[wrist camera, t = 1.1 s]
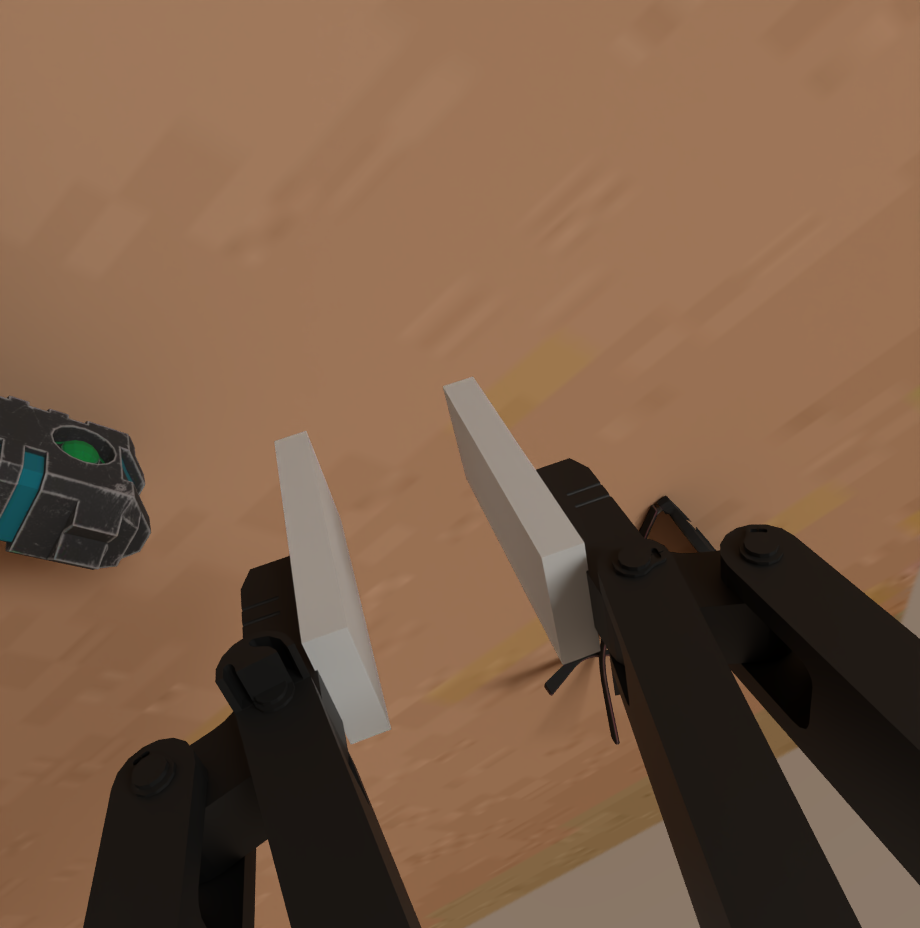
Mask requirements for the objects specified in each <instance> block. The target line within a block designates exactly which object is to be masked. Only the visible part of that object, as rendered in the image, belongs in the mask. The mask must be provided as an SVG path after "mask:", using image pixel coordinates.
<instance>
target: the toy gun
mask: <svg viewBox="0 0 920 928" xmlns="http://www.w3.org/2000/svg"><path fill="white" fill-rule="evenodd" d="M29 404H30V402H28V401H25V400H22V399H19V398H16V397H12V396H8V397H7V398H4V397H1V396H0V540H1V541H5V542H6V550H5V551H7V552H11V553H16V554H21V555H25V556H30V557H35V558H40V559H44V560H49V561H54V562H58V563H63V564H68V565H72V566H77V567H82V568H87V569H91V570H94V569H99V568H106V567H115V566H117V565H118V563H119V562H120V560H121V559H122V558H125V557H127V556H130V555H132V554H135V553H137V552H140V551H141V549H142V547H143V545H144V544H145V542H146V540H147V539H148V537H149V535H150V533H151V528H150V520H149V516H148V514H147V511H146V509H145V507H144V505H143V503H142V501H141V499H140V496H139V495H140V493H141V491H142V489H143V488H144V486H145V479H144V474H143V472H142V470H141V467H140V465H139V463H138V461H137V458H136V456H135V447H134V445H133V442H132V440H131V438H130V436H129V435H128V434H126V433H123V432H120V431H117V430H114V429H111V428H108V427H105V426H101V425H98V424H95V423H92V422H89V421H87V422H85V423H82V422H79V421H75V420H72V419H69V415H68V414H65V413H62V412H59V411H55V410H52V409H49V410H47V411H45V410H41V409H38V408H35V407H32V406H29Z"/></svg>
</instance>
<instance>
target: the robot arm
mask: <svg viewBox="0 0 920 928" xmlns="http://www.w3.org/2000/svg"><path fill="white" fill-rule="evenodd" d="M443 390H444V393H445V397H446V401H447V405H448V409H449V413H450V417H451V421H452V425H453V429H454V433H455V437H456V440H457V444H458V448H459V452H460V456H461V460H462V464H463V468H464V472H465V476H466V479H467V481H468V483H469V484H470V486H471V488H472V490H473V492H474V494H475V496H476V498H477V500H478V502H479V504H480V506H481V508H482V510H483V512H484V514H485V515H486V517H487V519H488V521H489V523H490V525H491V527H492V529H493V531H494V533H495V535H496V537H497V539H498V541H499V543H500V544H501V546H502V548H503V550H504V552H505V554H506V556H507V558H508V560H509V562H510V564H511V566H512V568H513V570H514V572H515V573H516V575H517V577H518V579H519V581H520V583H521V585H522V587H523V589H524V591H525V593H526V595H527V597H528V599H529V601H530V602H531V604H532V606H533V608H534V610H535V612H536V614H537V616H538V618H539V620H540V622H541V624H542V626H543V628H544V630H545V632H546V633H547V635H548V637H549V639H550V641H551V643H552V645H553V647H554V649H555V651H556V653H557V655H558V657H559V659H560V661H561V662H562V664H563V665H564V664H567V663H570V662H572V661H575V660H578V659H580V658H583V657H586V656H588V655H591V654H594V653H596V652H599V651H601V650H600V643H599V637H598V634H599V635H600V637H601V639H602V640H603V642H604V644H605V645H606V647H607V649H608V650H609V655H610V662H611V669H612V676H613V683H614V690H615V695H621V698H622V701H623V704H624V707H625V710H626V713H627V715H628V718H629V721H630V724H631V727H632V730H633V733H634V736H635V739H636V742H637V745H638V748H639V750H640V753H641V756H642V759H643V762H644V765H645V768H646V771H647V774H648V777H649V780H650V782H651V785H652V788H653V791H654V794H655V797H656V800H657V803H658V806H659V809H660V812H661V815H662V817H663V820H664V823H665V826H666V829H667V832H668V835H669V838H670V841H671V843H672V847H673V849H674V852H675V855H676V858H677V861H678V864H679V866H680V870H681V873H682V875H683V878H684V882H685V884H686V887H687V890H688V893H689V896H690V899H691V901H692V905H693V908H694V911H695V913H696V916H697V919H698V922H699V925H700V928H862V927H861V925H860V923H859V921H858V919H857V917H856V915H855V913H854V911H853V909H852V908H851V906H850V904H849V902H848V900H847V898H846V896H845V894H844V892H843V890H842V888H841V886H840V884H839V882H838V880H837V878H836V876H835V874H834V872H833V870H832V868H831V866H830V864H829V862H828V861H827V858H826V856H825V854H824V852H823V850H822V849H821V847H820V845H819V843H818V841H817V839H816V837H815V835H814V833H813V831H812V829H811V827H810V825H809V823H808V821H807V819H806V817H805V815H804V813H803V811H802V809H801V807H800V805H799V803H798V801H797V799H796V797H795V796H794V794H793V792H792V790H791V788H790V786H789V784H788V782H787V780H786V778H785V776H784V774H783V772H782V770H781V768H780V766H779V764H778V762H777V760H776V758H775V756H774V754H773V752H772V750H771V748H770V746H769V744H768V742H767V740H766V738H765V736H764V734H763V732H762V731H761V729H760V727H759V725H758V723H757V721H756V719H755V717H754V715H753V713H752V711H751V709H750V707H749V705H748V703H747V701H746V699H745V697H744V695H743V693H742V691H741V689H740V687H739V685H738V683H737V681H736V679H735V677H734V675H733V674H732V672H733V673H734V674H735V675H736V676H737V677H738V679H739V680H740V681H741V682H742V683H743V684H744V685H745V686H746V688H747V689H748V690H749V691H750V692H751V693H752V694H753V696H754V697H755V698H756V699H757V700H758V701H759V702H760V704H761V705H762V706H763V707H764V708H765V709H766V710H767V712H768V713H769V714H770V715H771V716H772V717H773V718H774V720H775V721H776V722H777V723H778V724H779V725H780V726H781V728H782V729H783V730H784V731H785V732H786V733H787V734H788V736H789V737H790V738H791V739H792V740H793V741H794V742H795V744H796V745H797V746H798V747H799V748H800V749H801V750H802V751H803V753H804V754H805V755H806V756H807V757H808V758H809V760H810V761H811V762H812V763H813V764H814V765H815V766H816V767H817V769H818V770H819V771H820V772H821V773H822V774H823V775H824V777H825V778H826V779H827V780H828V781H829V782H830V783H831V785H832V786H833V787H834V788H835V789H836V790H837V791H838V792H839V794H840V795H841V796H842V797H843V798H844V799H845V801H846V802H847V803H848V804H849V805H850V806H851V807H852V809H853V810H854V811H855V812H856V813H857V814H858V815H859V816H860V818H861V819H862V820H863V821H864V822H865V823H866V825H867V826H868V827H869V828H870V829H871V830H872V831H873V832H874V834H875V835H876V836H877V837H878V838H879V839H880V841H881V842H882V843H883V844H884V845H885V846H886V847H887V848H888V850H889V851H890V852H891V853H892V854H893V855H894V856H895V857H896V859H897V860H898V861H899V862H900V863H901V864H902V865H903V867H904V868H905V869H906V870H907V871H908V872H909V874H910V875H911V876H912V877H913V878H914V879H915V880H916V882H917V883H918V884H919V885H920V639H919V638H918V637H917V636H916V635H914V634H913V633H912V632H911V631H910V630H908V629H907V628H906V627H905V626H904V625H902V624H901V623H900V622H899V621H897V620H896V619H895V618H894V617H893V616H891V615H890V614H889V613H888V612H886V611H885V610H884V609H883V608H882V607H880V606H879V605H878V604H877V603H876V602H874V601H873V600H872V599H871V598H869V597H868V596H867V595H866V594H865V593H863V592H862V591H861V590H860V589H858V588H857V587H856V586H855V585H854V584H852V583H851V582H850V581H849V580H848V579H846V578H845V577H844V576H843V575H841V574H840V573H839V572H838V571H837V570H835V569H834V568H833V567H832V566H830V565H829V564H828V563H827V562H826V561H824V560H823V559H822V558H821V557H820V556H818V555H817V554H816V553H815V552H813V551H812V550H811V549H810V548H809V547H807V546H806V545H805V544H804V543H802V542H801V541H800V540H799V539H798V538H796V537H795V536H794V535H792V534H790V533H789V532H787V531H785V530H783V529H782V528H778V527H774V526H770V525H747V526H743V527H739V528H736V529H734V530H733V531H731V532H730V533H728V534H727V535H726V536H725V537H724V539H723V541H722V542H721V544H720V551H710V552H700V553H675V552H669V551H668V549H667V548H666V547H665V546H664V545H662V544H660V543H658V542H656V541H654V540H650V539H645V538H644V537H643V536H642V535H641V534H640V532H639V531H638V530H637V529H636V527H635V526H634V525H633V524H632V522H631V521H630V520H629V518H628V517H627V516H626V515H625V513H624V512H623V511H622V510H621V508H620V507H619V506H618V504H617V503H616V502H615V501H614V499H613V498H612V497H610V496H609V493H608V492H607V490H606V489H605V488H604V487H603V485H601V484H600V481H599V480H598V479H597V478H596V476H595V475H594V474H593V473H592V471H591V470H590V469H589V468H588V467H586V466H584V465H582V464H580V463H578V462H576V461H574V460H572V459H570V458H569V459H566V460H563V461H560V462H557V463H554V464H551V465H548V466H545V467H542V468H540V469H537V470H535V468H534V467H533V465H532V464H531V462H530V461H529V459H528V458H527V456H526V455H525V453H524V452H523V450H522V449H521V447H520V446H519V444H518V443H517V441H516V440H515V438H514V437H513V436H512V434H511V433H510V431H509V430H508V428H507V427H506V425H505V424H504V422H503V421H502V419H501V418H500V416H499V415H498V413H497V412H496V410H495V409H494V407H493V406H492V404H491V403H490V401H489V400H488V398H487V397H486V395H485V394H484V392H483V391H482V389H481V388H480V386H479V385H478V383H477V382H476V380H475V379H474V377H470V378H467V379H464V380H461V381H458V382H455V383H452V384H449V385H445V386H443ZM274 442H275V449H276V457H277V464H278V472H279V479H280V486H281V494H282V501H283V509H284V516H285V524H286V531H287V539H288V546H289V553H290V556H288V557H285V558H282V559H279V560H276V561H273V562H270V563H268V564H265V565H262V566H259V567H256V568H253V569H250V571H249V573H248V575H247V577H246V579H245V582H244V584H243V586H242V588H241V606H242V611H243V612H242V624H243V628H242V629H243V639H242V640H240V641H239V642H237V643H236V644H234V645H233V646H232V647H231V648H230V649H229V650H228V651H227V652H226V653H225V654H224V655H223V656H222V658H221V660H220V662H219V664H218V666H217V668H216V680H215V682H216V684H217V685H218V687H219V689H220V690H221V692H222V693H223V695H224V697H225V698H226V700H227V702H228V703H229V705H230V706H231V708H232V710H233V713H232V714H231V715H230V716H229V717H228V718H227V719H226V720H225V721H224V722H223V723H222V724H220V725H219V726H218V727H216V728H215V729H214V730H212V731H211V732H209V733H208V734H206V735H205V736H203V737H202V738H200V739H199V740H197V741H196V742H194V743H193V744H191V745H189V744H188V743H187V742H186V741H183V740H180V739H176V738H169V739H162V740H158V741H155V742H153V743H151V744H149V745H147V746H145V747H143V748H142V749H140V750H139V751H138V752H137V753H135V754H134V755H133V756H132V757H130V758H129V759H128V760H127V762H126V763H125V764H124V765H123V767H122V768H121V769H120V771H119V772H118V773H117V776H116V778H115V781H114V783H113V786H112V788H111V793H110V798H109V803H108V808H107V813H106V818H105V823H104V828H103V833H102V838H101V843H100V847H99V852H98V857H97V862H96V867H95V872H94V877H93V882H92V887H91V892H90V897H89V902H88V907H87V911H86V916H85V921H84V926H83V928H254V915H255V874H256V847H258V846H259V845H260V844H262V843H263V842H264V841H266V840H267V839H268V841H269V845H270V849H271V852H272V856H273V860H274V864H275V868H276V872H277V875H278V879H279V883H280V887H281V891H282V894H283V898H284V902H285V906H286V910H287V913H288V917H289V921H290V925H291V928H421V926H420V923H419V921H418V918H417V916H416V913H415V911H414V909H413V906H412V904H411V901H410V899H409V896H408V894H407V891H406V889H405V886H404V884H403V882H402V879H401V877H400V874H399V872H398V869H397V867H396V864H395V862H394V859H393V857H392V855H391V852H390V850H389V847H388V845H387V842H386V840H385V837H384V835H383V832H382V830H381V828H380V825H379V823H378V820H377V818H376V815H375V813H374V810H373V808H372V805H371V803H370V801H369V798H368V796H367V793H366V791H365V788H364V786H363V783H362V781H361V778H360V776H359V774H358V771H357V769H356V766H355V764H354V762H353V760H352V758H351V756H350V754H349V752H348V748H347V743H346V737H345V733H346V735H347V737H348V739H349V741H350V743H351V744H353V743H356V742H359V741H361V740H364V739H367V738H369V737H372V736H375V735H377V734H380V733H383V732H385V731H388V730H391V726H390V722H389V718H388V714H387V709H386V705H385V701H384V697H383V693H382V689H381V684H380V680H379V676H378V672H377V668H376V664H375V659H374V655H373V651H372V647H371V643H370V639H369V634H368V630H367V626H366V622H365V618H364V614H363V609H362V605H361V601H360V597H359V593H358V589H357V584H356V580H355V576H354V572H353V568H352V564H351V559H350V555H349V551H348V547H347V543H346V539H345V534H344V530H343V526H342V522H341V519H340V516H339V514H338V511H337V508H336V506H335V503H334V501H333V498H332V496H331V493H330V490H329V488H328V485H327V483H326V480H325V478H324V475H323V473H322V470H321V467H320V465H319V462H318V460H317V457H316V455H315V452H314V449H313V447H312V444H311V442H310V439H309V437H308V434H307V432H306V431H304V432H301V433H298V434H295V435H292V436H289V437H286V438H283V439H280V440H277V441H274ZM730 669H731V670H730ZM731 671H732V672H731Z"/></svg>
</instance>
